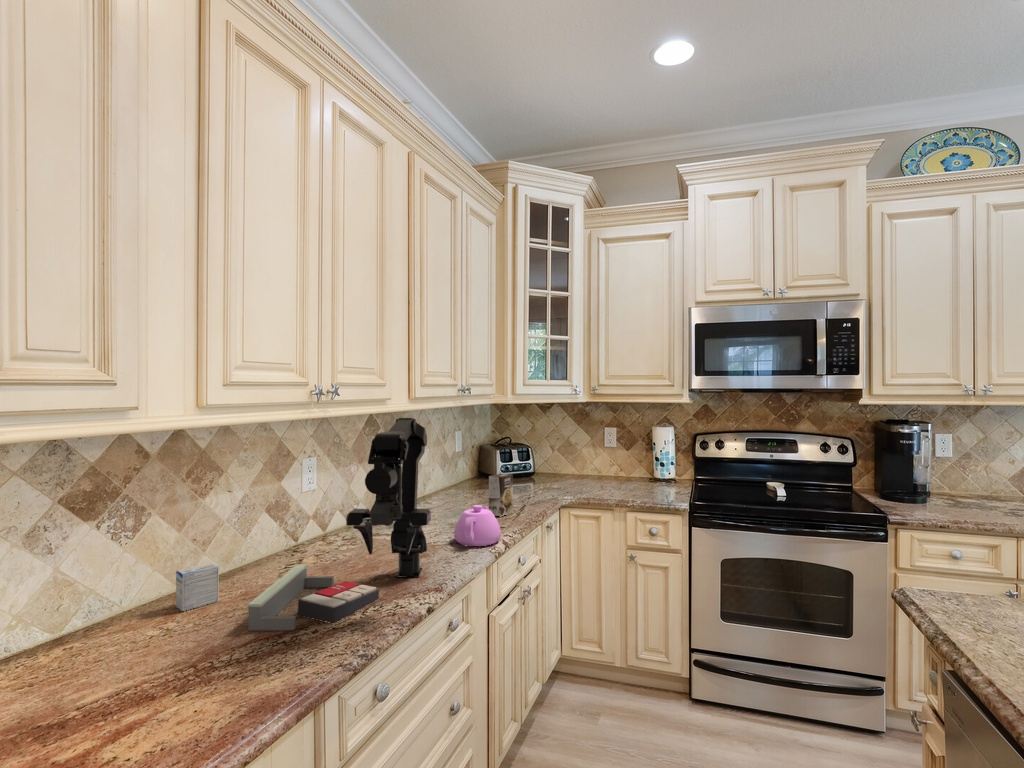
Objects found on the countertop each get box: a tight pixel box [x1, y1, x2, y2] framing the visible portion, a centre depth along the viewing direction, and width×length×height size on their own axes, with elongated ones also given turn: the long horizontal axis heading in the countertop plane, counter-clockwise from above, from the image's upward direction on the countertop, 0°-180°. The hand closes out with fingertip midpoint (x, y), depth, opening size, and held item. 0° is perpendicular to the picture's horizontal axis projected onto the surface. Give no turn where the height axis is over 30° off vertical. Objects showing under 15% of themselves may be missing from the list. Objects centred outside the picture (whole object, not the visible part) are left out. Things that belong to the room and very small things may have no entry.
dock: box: [247, 564, 335, 631], centre depth 128 cm, size 26×10×6 cm, turn 0°
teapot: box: [453, 504, 502, 547], centre depth 182 cm, size 22×16×12 cm
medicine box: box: [175, 562, 220, 612], centre depth 129 cm, size 8×4×9 cm, turn 141°
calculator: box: [297, 581, 380, 624], centre depth 127 cm, size 11×4×15 cm
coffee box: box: [488, 473, 514, 516], centre depth 221 cm, size 9×6×16 cm
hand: (389, 554), depth 128 cm, fingers open, 8 cm apart
